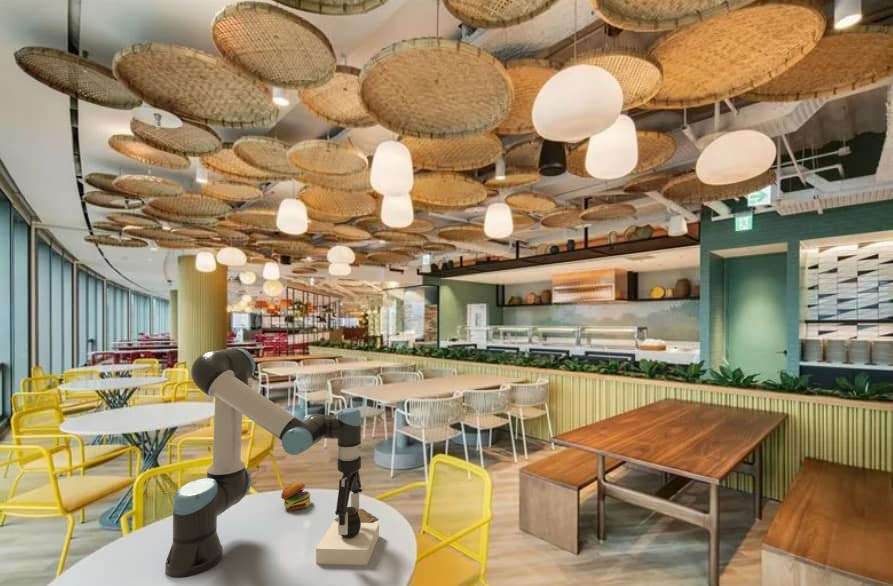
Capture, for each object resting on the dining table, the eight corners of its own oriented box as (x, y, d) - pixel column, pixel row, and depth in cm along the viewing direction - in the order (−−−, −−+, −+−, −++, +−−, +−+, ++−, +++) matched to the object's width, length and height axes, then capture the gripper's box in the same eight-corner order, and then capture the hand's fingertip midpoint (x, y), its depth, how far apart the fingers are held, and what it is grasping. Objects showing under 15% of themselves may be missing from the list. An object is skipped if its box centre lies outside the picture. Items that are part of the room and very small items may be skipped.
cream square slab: (316, 565, 126) (316, 548, 126) (333, 537, 142) (333, 522, 142) (367, 566, 125) (367, 549, 125) (379, 538, 141) (379, 523, 141)
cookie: (333, 520, 153) (333, 517, 153) (361, 509, 161) (361, 507, 161) (349, 533, 144) (349, 530, 144) (379, 520, 152) (379, 518, 152)
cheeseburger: (303, 513, 158) (297, 487, 159) (279, 517, 160) (273, 491, 161) (316, 500, 168) (311, 476, 169) (293, 505, 170) (288, 481, 170)
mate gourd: (354, 526, 139) (354, 496, 139) (365, 535, 133) (365, 504, 134) (334, 534, 134) (334, 503, 135) (345, 544, 129) (345, 511, 129)
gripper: (349, 471, 122) (349, 544, 121) (369, 444, 147) (369, 505, 146) (324, 471, 123) (324, 544, 122) (349, 444, 148) (349, 504, 147)
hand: (349, 523), depth 134 cm, fingers open, 13 cm apart
